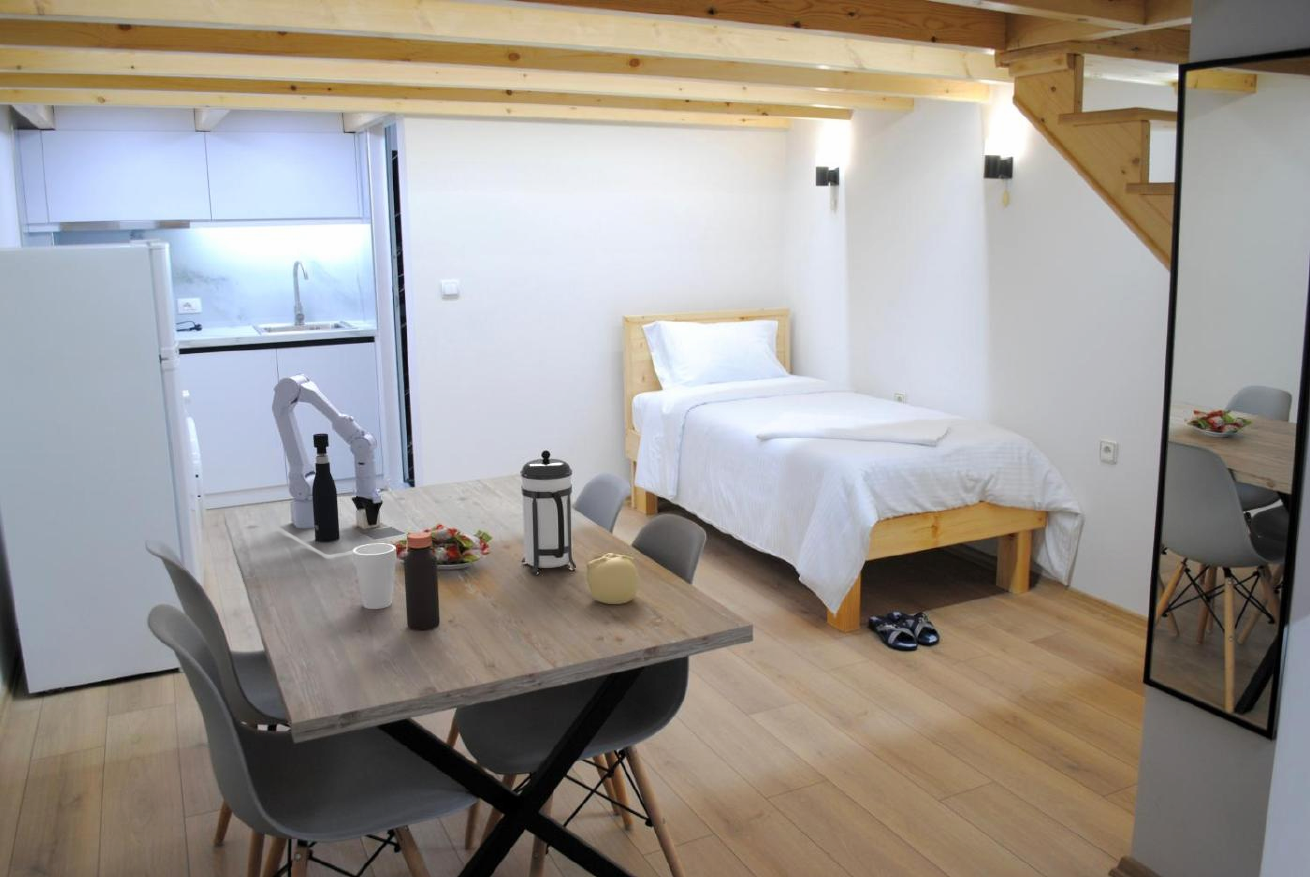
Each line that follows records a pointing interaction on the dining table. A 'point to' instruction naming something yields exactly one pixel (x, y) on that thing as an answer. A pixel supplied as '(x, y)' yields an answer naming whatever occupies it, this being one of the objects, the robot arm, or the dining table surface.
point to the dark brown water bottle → (421, 583)
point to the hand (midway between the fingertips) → (368, 522)
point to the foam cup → (375, 573)
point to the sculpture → (613, 578)
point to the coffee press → (547, 513)
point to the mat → (383, 533)
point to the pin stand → (367, 528)
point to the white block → (365, 519)
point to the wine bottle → (324, 495)
